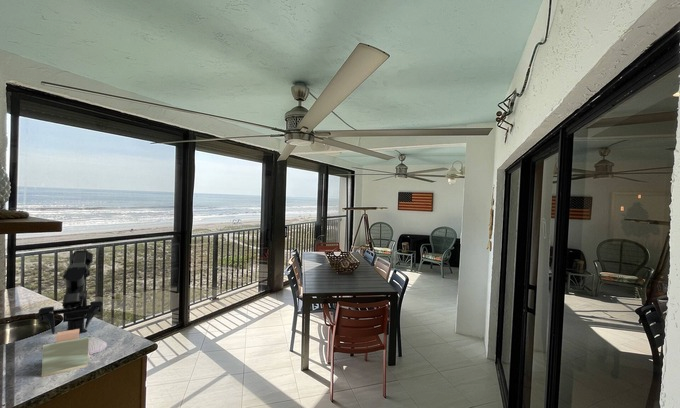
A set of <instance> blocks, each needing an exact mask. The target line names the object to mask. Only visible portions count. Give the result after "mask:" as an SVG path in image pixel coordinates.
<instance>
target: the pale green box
mask: <svg viewBox="0 0 680 408" xmlns="http://www.w3.org/2000/svg"><path fill="white" fill-rule="evenodd" d="M89 337H90V336H87V337H79V339H74V340H69V341H63V342H58V343H56V342H52V343H47V344H43V345H42V358H41V359H42V360H41V361H42V363H41V378H44V377H48V376H54V375H58V374H62V373H66V372H70V371H75V370H79V369H83V368H88V363H89V357H90V355H89V353H88V343H89V339H90V338H89Z"/></svg>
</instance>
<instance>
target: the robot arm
mask: <svg viewBox="0 0 680 408" xmlns="http://www.w3.org/2000/svg"><path fill="white" fill-rule="evenodd" d="M93 261H94V253H92V252H89V250H86V249H79V250H77V249H76V250H74V251H73V253H71V254H70V257H69V264H70V265H68V266H67V268H66V269H65V270H64V273H63V276H62V277H63V278H62V279H63V280H64V284H65V292H64V293H65V294H63V300H62V305H61V306H62V308H57V309H55V307H54V305H53V306H46V307H45V306H44V307H41V308H40V309H38V312H37V313H38V314H37V316H38V321H42V322H43V323H47V324H48V325H49V327H50V330H51V334H52V335H55V329H56V327H55V325H56V324H55V323H56V322H55V316H56V315H61V314H62V322H63V323H66V322H67V328H66V329H67V330H66V331H69V330H75V329H79V335H80V334H83V333H87V332H88V329H87V328H88V326H89V325H90V323H91V321H92V320H93V319H94V317H95V316H96V315H98V314H99V313H102V312H103V307H104V306H103V303H104V301H102V300H94V301H90V304H88V301H87V299H88V290H87V289H86V290H85V285H86V279H87V278H88V277H90V275H91V270H90V268H91V265H92V264H93Z"/></svg>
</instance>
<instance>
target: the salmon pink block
mask: <svg viewBox="0 0 680 408" xmlns="http://www.w3.org/2000/svg"><path fill="white" fill-rule="evenodd" d="M74 339H80V334H79V329H75V330H69V331H67V330H64V331H57V333H56V337H55V343H58V342H63V341H69V340H74Z"/></svg>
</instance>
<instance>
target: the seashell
mask: <svg viewBox="0 0 680 408" xmlns="http://www.w3.org/2000/svg"><path fill="white" fill-rule="evenodd" d="M107 347H108V343H107V342H106V341H104V340H103V339H101V338H99V337H91V338H89V343H88V353H89V356H90V355H93V354H96V353H100V352H102V351H104V350H106V349H107Z"/></svg>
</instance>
